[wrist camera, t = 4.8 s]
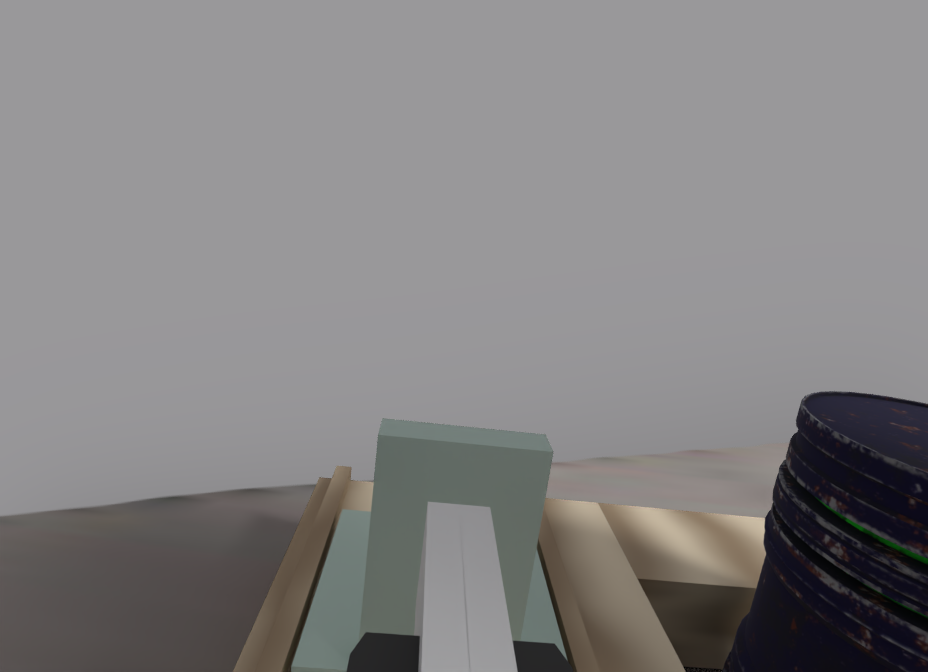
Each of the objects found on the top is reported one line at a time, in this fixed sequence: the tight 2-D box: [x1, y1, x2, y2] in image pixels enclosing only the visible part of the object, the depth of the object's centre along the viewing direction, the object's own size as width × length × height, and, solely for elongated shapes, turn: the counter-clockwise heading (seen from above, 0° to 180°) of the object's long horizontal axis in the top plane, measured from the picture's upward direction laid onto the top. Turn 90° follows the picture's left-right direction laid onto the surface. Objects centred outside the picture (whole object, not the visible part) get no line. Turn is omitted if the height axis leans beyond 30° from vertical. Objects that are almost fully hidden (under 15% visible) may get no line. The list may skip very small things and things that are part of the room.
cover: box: [291, 418, 568, 672], centre depth 21 cm, size 9×9×9 cm
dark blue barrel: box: [722, 391, 928, 672], centre depth 18 cm, size 10×10×15 cm
